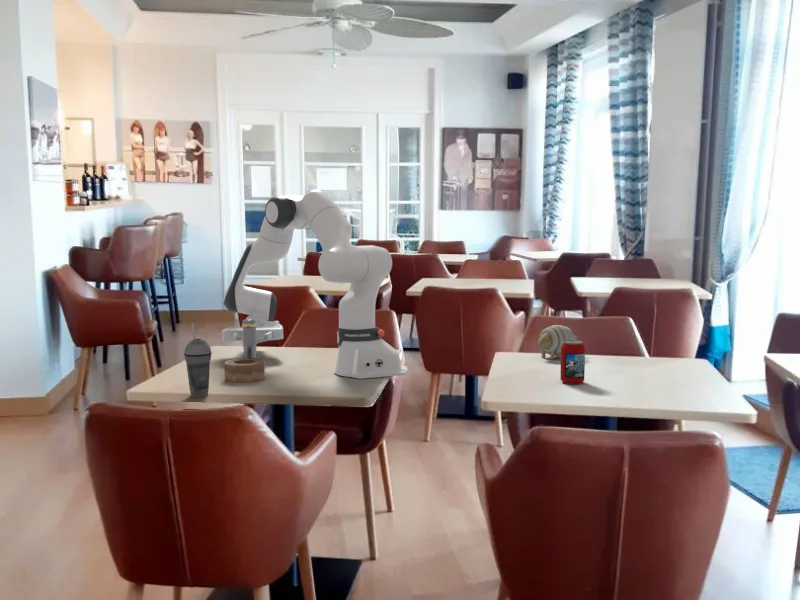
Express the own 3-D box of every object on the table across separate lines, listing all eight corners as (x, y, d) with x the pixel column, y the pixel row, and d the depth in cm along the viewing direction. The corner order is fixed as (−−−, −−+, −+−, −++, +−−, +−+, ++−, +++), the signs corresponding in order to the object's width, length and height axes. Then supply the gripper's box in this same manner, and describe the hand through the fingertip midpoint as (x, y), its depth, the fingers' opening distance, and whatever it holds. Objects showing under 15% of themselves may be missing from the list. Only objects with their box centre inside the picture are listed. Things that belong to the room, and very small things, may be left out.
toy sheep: (528, 358, 256) (528, 325, 255) (562, 352, 266) (562, 320, 265) (552, 362, 248) (553, 329, 247) (586, 356, 258) (586, 324, 257)
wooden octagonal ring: (265, 373, 235) (264, 357, 234) (263, 381, 223) (263, 364, 223) (227, 374, 233) (226, 358, 233) (223, 383, 222) (223, 366, 221)
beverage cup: (209, 398, 203) (206, 324, 201) (182, 398, 204) (179, 324, 201) (216, 392, 211) (213, 320, 208) (190, 392, 211) (187, 320, 209)
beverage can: (570, 386, 215) (571, 344, 214) (555, 381, 221) (556, 340, 220) (589, 383, 218) (590, 342, 217) (573, 379, 224) (574, 338, 223)
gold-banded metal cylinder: (257, 368, 242) (256, 318, 240) (257, 371, 238) (255, 320, 236) (244, 369, 241) (242, 319, 239) (243, 372, 237) (241, 321, 235)
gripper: (222, 322, 260) (219, 328, 247) (283, 320, 263) (282, 326, 250) (223, 340, 261) (219, 347, 247) (283, 338, 264) (283, 345, 250)
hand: (251, 337), depth 249 cm, fingers open, 8 cm apart
